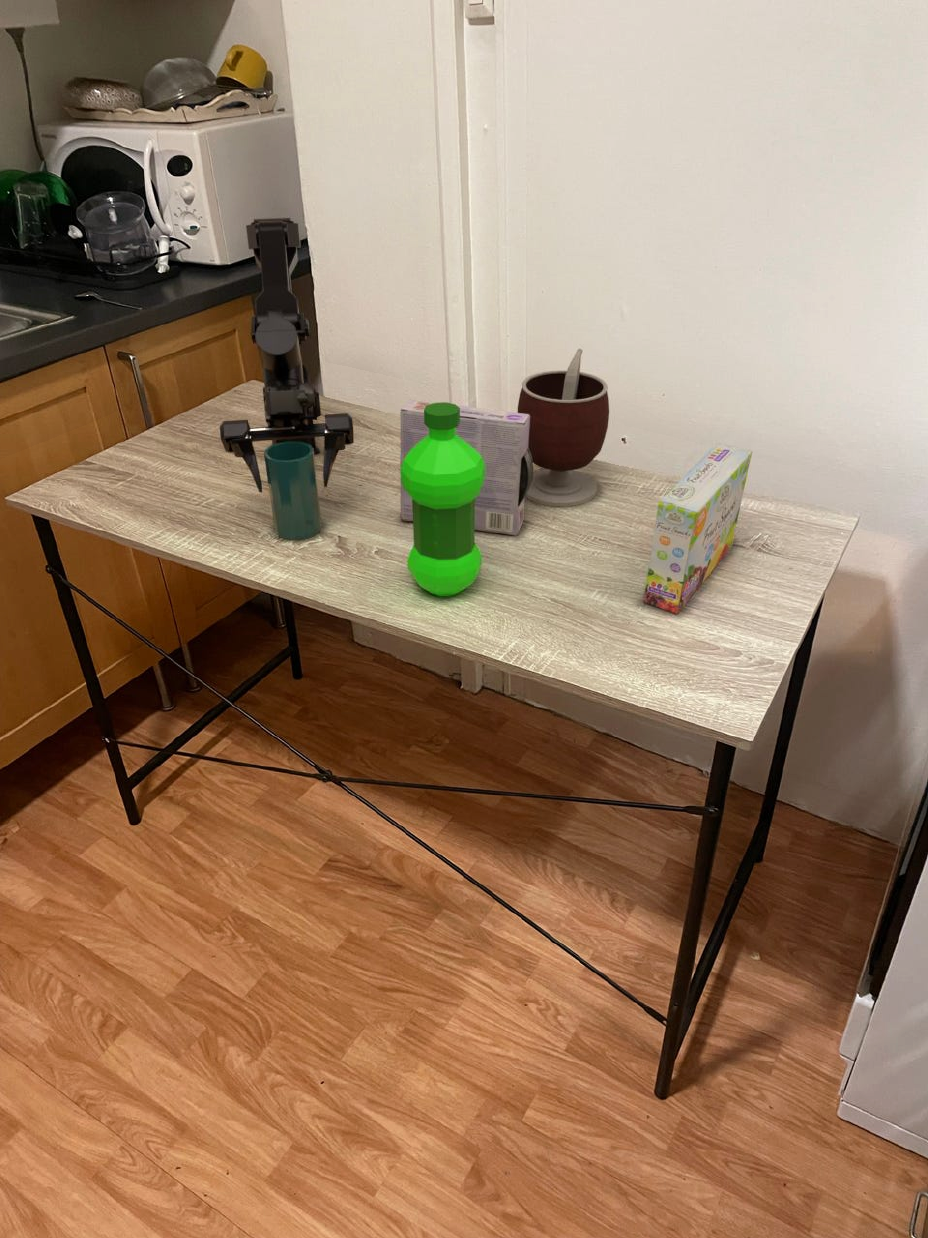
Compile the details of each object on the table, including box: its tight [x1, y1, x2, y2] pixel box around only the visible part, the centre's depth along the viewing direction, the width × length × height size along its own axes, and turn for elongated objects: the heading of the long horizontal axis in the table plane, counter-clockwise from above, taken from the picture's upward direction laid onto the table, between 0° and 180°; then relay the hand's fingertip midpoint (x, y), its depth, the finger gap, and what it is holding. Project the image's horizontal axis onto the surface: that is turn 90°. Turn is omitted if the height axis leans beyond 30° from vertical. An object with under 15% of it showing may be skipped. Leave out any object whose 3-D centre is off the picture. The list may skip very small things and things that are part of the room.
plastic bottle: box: [399, 401, 485, 597], centre depth 116 cm, size 10×10×25 cm
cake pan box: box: [399, 399, 534, 537], centre depth 133 cm, size 19×5×18 cm, turn 75°
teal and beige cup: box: [263, 441, 322, 541], centre depth 133 cm, size 7×7×12 cm
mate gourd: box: [517, 348, 610, 508], centre depth 142 cm, size 16×14×20 cm
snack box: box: [642, 443, 753, 614], centre depth 121 cm, size 21×6×15 cm, turn 148°
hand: (293, 488), depth 132 cm, fingers open, 9 cm apart
